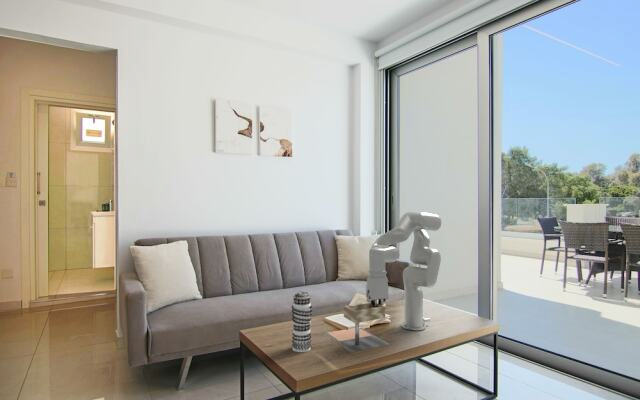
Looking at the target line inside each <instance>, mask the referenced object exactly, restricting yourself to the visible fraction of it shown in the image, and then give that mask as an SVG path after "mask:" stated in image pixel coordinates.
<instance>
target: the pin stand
mask: <svg viewBox="0 0 640 400" xmlns="http://www.w3.org/2000/svg"><path fill="white" fill-rule="evenodd" d="M359 327H360V323H354V328H355V329H352V330H346V329H341V330H334V331H328V332H323V335H325V336H327V337H328V338H330V339H331V340H332V341H334V342H335V343H337V344H338V345H340V347H342V348H344V349H345V350H347V351H348V352H349V353H354V352H359V351H363V350H368V349H373V348H377V347H378V348H380V347H383V346H389V345H391V343H389V342H387V341H385V340H383V339H381V338H380V337H378V336H376V335H375V334H373V333H371V332H370V331H368V330H367V329H364V328H363V327H361V328H359Z"/></svg>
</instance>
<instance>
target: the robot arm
mask: <svg viewBox="0 0 640 400" xmlns="http://www.w3.org/2000/svg"><path fill="white" fill-rule="evenodd" d="M441 227H442V219H441V217H440V216H439V215H438V214H433V213H429V212H422V211H421V212H420V211H418V212H417V211H408V212H405V213H404V214H403V215H402V216H401V218H400V220H398V222H397V223H396V225H395V226H394V227H393V228H392V229H391V230H389V231H386V232H385V233H383V234H381V235H380V236H379V237H377V238H376V240H375V241H374V242H373V244H372V245H371V247H370V248H369V250H368V257H369V258H368V262H369V265H368V267H369V268H368V270H369V271H368V272H369V273H368V274H369V275H368V277H367V279H366V285H365V297H366V300H365V301H366V303H367V302H369V303H371V304H372V305H373V308H375V307H378V306H377V304H380V305H382V306H384V305H385V302H386V301H387V300H389V297H390V296H389V284H388V283H389V282H388V279H387V274H388V270H386V267H387V265H386V263H394V262H396V261H398V259H399V258H400V251H399V249H398V248H397V247H395V246H392V245H396V244H401V243H403V242H406V241H408V239H409V237H410V236H411V235H412V233H413V242H412V248H411V250H410V255H409V260H410V262H411V264H413V266H412V265H411V266H407V267H405V268H404V269H403V271H402V280H403V288H404V302H403V303H404V305H403V306H404V310H403V311H404V312H403V313H404V317H403V318H404V319H403V321H402V322H401V325H400V327H402V328H403V329H405V330H410V331H423V330H425V329H427V325H426V323H429V322H430V321H431V320H430V317H424V292H423V289H422V288H427V289H429V288H430V289H431V288H433V287H434V286H435V285H436V283H437V280H438V275H439V271H440V266H441V261H442V256H441V253H440V251H439V250H437V249H436V248H430V244H431V238H430V235H429V233H428V232H427V231H432V232H433V231H434V232H436V231H438V230H439V229H440V228H441ZM414 265H416V266H414ZM420 266H422V267H420Z"/></svg>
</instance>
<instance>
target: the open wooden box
mask: <svg viewBox="0 0 640 400" xmlns="http://www.w3.org/2000/svg"><path fill="white" fill-rule="evenodd" d="M377 306H378V307H375V308H373V305H372V304H371V303H369V302H367V301H366V302H361V303H355V304H348V305H343V317H344V318H345V319H347V320H349V321H350V322H352V323H354V324H355V323H359V324H360V323H364V322H371V321H376V320H381V319H386V306H384V305H380V304H378V303H377Z"/></svg>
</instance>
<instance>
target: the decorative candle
mask: <svg viewBox="0 0 640 400" xmlns="http://www.w3.org/2000/svg"><path fill="white" fill-rule="evenodd" d="M292 297H293V303H292V305H291V313H292V314H291V316H292V318H291V320H292V322H291V323H292V325H293V326H292V328H293V329H292V334H291V335H292V337H291V338H292V341H291V342H292V344H291V347H292V349H291V350H292V351H294V352H297V353H306V352H309V351H311V350H312V347H311V346H312V340H311V339H312V332H311V331H312V330H311V323H312V318H311V316H312V315H313V313H312V312H313V310H312V308H313V305H312V304H311V297H312V296H311V294H309V292H308V291H297V292H296V293H295V294H294V295H292Z"/></svg>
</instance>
